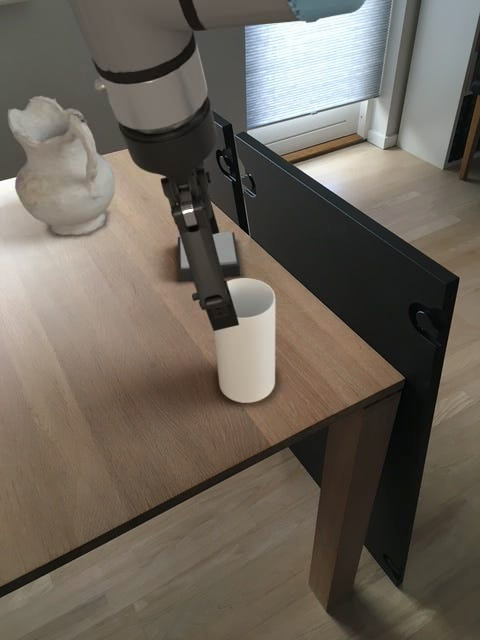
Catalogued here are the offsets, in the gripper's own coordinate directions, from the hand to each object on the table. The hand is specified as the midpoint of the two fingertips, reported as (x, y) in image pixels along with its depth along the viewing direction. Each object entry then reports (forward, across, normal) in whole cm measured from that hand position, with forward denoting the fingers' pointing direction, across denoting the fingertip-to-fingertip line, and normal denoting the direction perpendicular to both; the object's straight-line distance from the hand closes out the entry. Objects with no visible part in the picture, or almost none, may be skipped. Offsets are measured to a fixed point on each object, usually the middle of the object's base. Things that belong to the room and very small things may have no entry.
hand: (216, 276), depth 60 cm
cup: (+24, 0, 0) cm, 25 cm away
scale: (+30, -30, -3) cm, 43 cm away
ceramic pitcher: (+30, -50, -28) cm, 65 cm away
